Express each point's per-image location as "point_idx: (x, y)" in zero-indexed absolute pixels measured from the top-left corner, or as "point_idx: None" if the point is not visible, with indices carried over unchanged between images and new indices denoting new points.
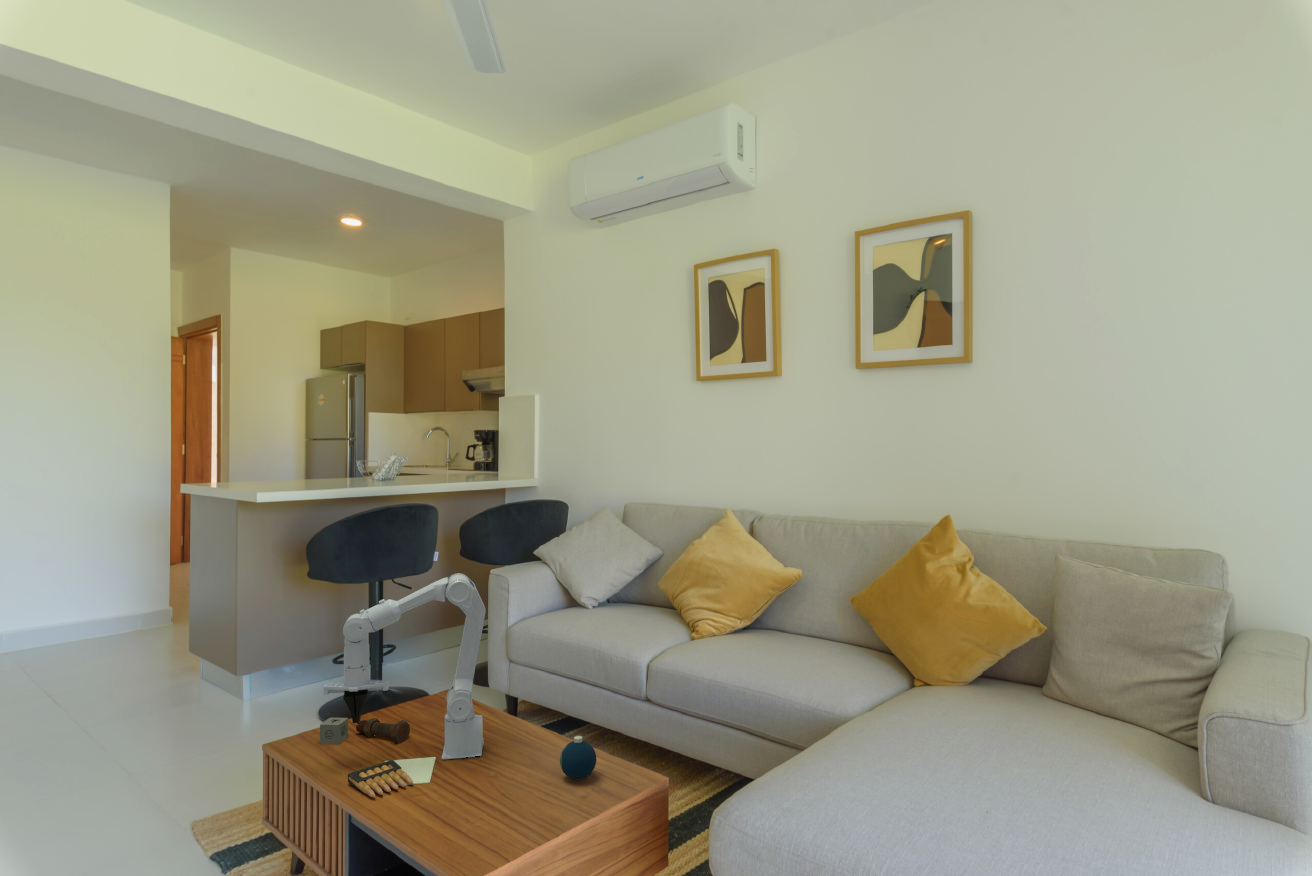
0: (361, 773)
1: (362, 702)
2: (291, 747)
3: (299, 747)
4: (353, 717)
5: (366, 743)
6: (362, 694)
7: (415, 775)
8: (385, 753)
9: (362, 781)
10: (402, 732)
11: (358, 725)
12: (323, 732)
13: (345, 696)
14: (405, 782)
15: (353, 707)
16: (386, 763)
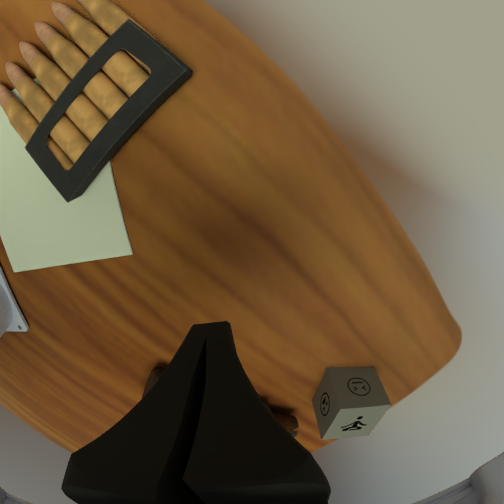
0: (136, 81)
1: (113, 429)
2: (431, 343)
3: (416, 345)
4: (219, 343)
5: (249, 372)
6: (96, 500)
7: (7, 148)
8: (160, 312)
9: (115, 26)
10: (146, 393)
11: (291, 427)
12: (375, 388)
13: (301, 495)
14: (18, 99)
15: (209, 398)
16: (74, 169)
